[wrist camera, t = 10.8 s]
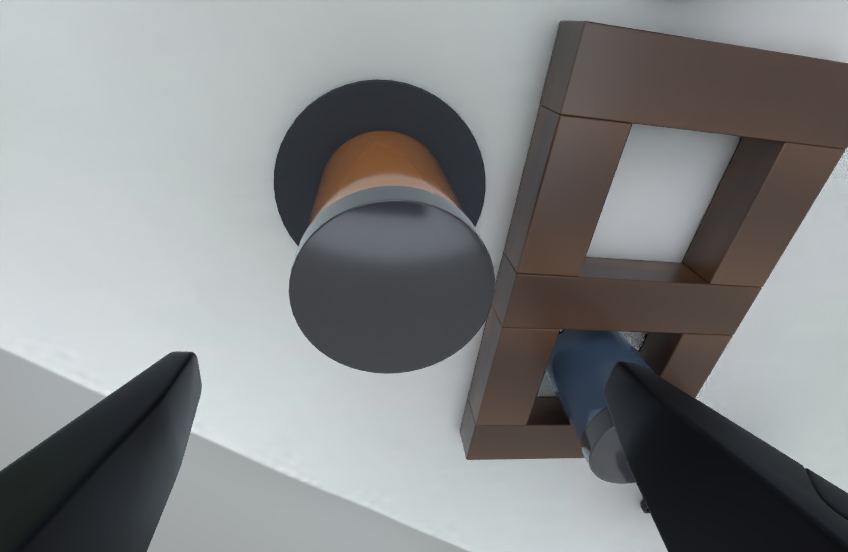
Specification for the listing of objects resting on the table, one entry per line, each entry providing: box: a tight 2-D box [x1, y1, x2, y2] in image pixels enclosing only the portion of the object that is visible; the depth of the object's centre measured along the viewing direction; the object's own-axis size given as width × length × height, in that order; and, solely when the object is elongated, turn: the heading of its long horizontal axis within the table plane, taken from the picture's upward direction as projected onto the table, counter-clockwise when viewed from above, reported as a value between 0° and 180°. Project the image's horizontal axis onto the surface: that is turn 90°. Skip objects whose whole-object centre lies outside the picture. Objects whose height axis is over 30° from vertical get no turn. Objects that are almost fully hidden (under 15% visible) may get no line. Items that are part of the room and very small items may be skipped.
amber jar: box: [289, 131, 495, 373], centre depth 15 cm, size 6×6×8 cm
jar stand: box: [460, 21, 848, 460], centre depth 22 cm, size 23×13×2 cm, turn 173°
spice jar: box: [545, 329, 656, 484], centre depth 23 cm, size 5×5×6 cm
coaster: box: [274, 80, 485, 246], centre depth 19 cm, size 9×9×1 cm
